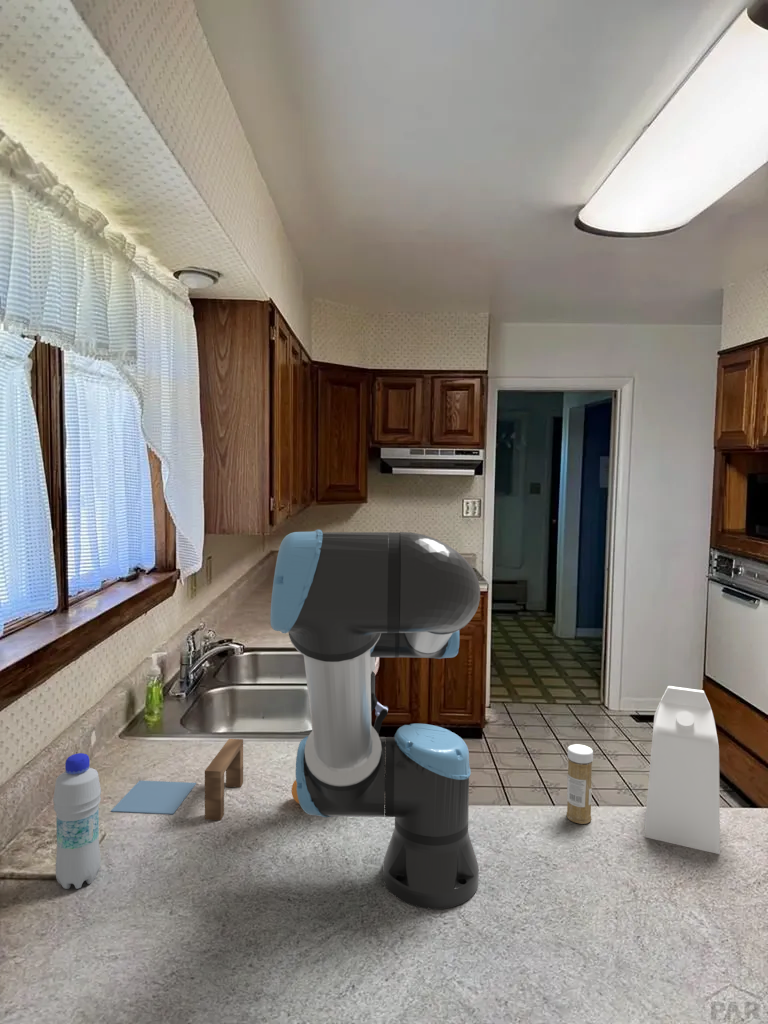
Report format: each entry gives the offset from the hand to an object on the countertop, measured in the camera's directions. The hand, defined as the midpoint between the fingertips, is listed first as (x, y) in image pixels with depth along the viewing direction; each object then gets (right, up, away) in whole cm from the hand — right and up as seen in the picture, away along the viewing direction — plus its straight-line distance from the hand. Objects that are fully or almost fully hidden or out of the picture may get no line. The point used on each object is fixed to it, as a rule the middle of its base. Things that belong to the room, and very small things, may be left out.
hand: (354, 790), depth 122 cm
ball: (-10, 0, 0) cm, 10 cm away
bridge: (-26, -3, +1) cm, 26 cm away
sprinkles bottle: (+42, -4, -4) cm, 43 cm away
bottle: (-42, -4, -24) cm, 48 cm away
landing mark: (-39, -2, +2) cm, 40 cm away
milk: (+60, -4, -7) cm, 61 cm away
